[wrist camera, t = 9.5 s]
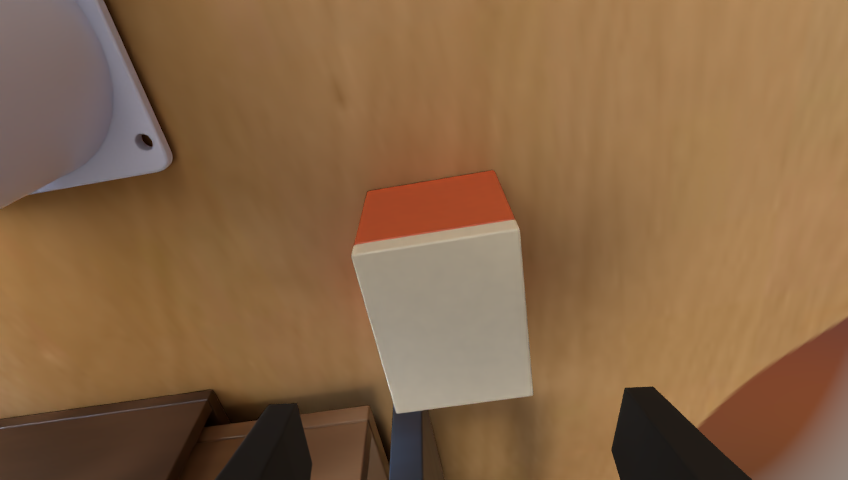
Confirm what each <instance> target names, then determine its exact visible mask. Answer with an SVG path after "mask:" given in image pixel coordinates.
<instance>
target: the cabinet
mask: <svg viewBox="0 0 848 480" xmlns="http://www.w3.org/2000/svg"><path fill="white" fill-rule="evenodd" d="M225 424H231V423H230V421H229V419H228V417H227V415H226V413H225V412H224V410H223V408H222V406H221V404H220V402H219V401H218V399H217V397H216V395H215V393H214V391H213V390H207V391H200V392H193V393H186V394H178V395H171V396H164V397H157V398H150V399H143V400H135V401H128V402H121V403H114V404H107V405H100V406H92V407H85V408H78V409H71V410H64V411H57V412H49V413H42V414H35V415H28V416H21V417H13V418H6V419H0V480H178V478H179V476H180V474H181V472H182V470H183V468H184V466H185V464H186V462H187V460H188V458H189V456H190V454H191V452H192V450H193V448H194V446H195V444H196V442H197V440H198V438H199V436H200V433H201V431H202V429H203V427H210V426H218V425H225Z"/></svg>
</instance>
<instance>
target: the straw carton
mask: <svg viewBox="0 0 848 480" xmlns="http://www.w3.org/2000/svg"><path fill="white" fill-rule="evenodd" d="M351 258H352V261H353V265H354V268H355V272H356V275H357V279H358V282H359V286H360V289H361V293H362V296H363V299H364V303H365V306H366V310H367V313H368V317H369V320H370V324H371V327H372V331H373V334H374V338H375V341H376V345H377V348H378V352H379V355H380V359H381V362H382V366H383V369H384V372H385V376H386V379H387V383H388V386H389V390H390V393H391V397H392V400H393V404H394V407H395V411H396V413H398V414H399V413H406V412H414V411H422V410H429V409H437V408H444V407H452V406H460V405H467V404H475V403H482V402H490V401H497V400H505V399H513V398H520V397H528V396H533V384H532V371H531V359H530V347H529V335H528V322H527V310H526V298H525V286H524V274H523V261H522V249H521V237H520V229H519V226H518V224H517V222H516V220H515V217H514V215H513V213H512V211H511V208H510V206H509V204H508V201H507V199H506V197H505V194H504V192H503V190H502V187H501V185H500V183H499V180H498V178H497V176H496V173H495V171H493V170H492V171H486V172H480V173H474V174H468V175H462V176H456V177H450V178H444V179H438V180H432V181H426V182H420V183H414V184H408V185H402V186H396V187H390V188H384V189H378V190H372V191H368V192H367V194H366V198H365V202H364V206H363V211H362V215H361V219H360V223H359V227H358V231H357V235H356V239H355V243H354V246H353V250H352V254H351Z"/></svg>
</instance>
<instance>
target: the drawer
mask: <svg viewBox="0 0 848 480" xmlns="http://www.w3.org/2000/svg"><path fill="white" fill-rule="evenodd" d="M300 417H301V421H302V425H303V429H304V433H305V437H306V440H307V444H308V448H309V452H310V456H311V460H312V471H311V478H310V480H444V475H443V471H442V467H441V463H440V459H439V455H438V450H437V446H436V442H435V438H434V434H433V429H432V425H431V421H430V417H429V413H428V410H422V411H414V412H406V413H399V414H398V413H396V411H395V407H394V404H393V417H392V434H391V452H390V467H389V464H388V461H387V458H386V454H385V451H384V448H383V445H382V442H381V439H380V436H379V433H378V430H377V427H376V424H375V420H374V417H373V414H372V411H371V408H370V406H368V405H367V406H360V407H352V408H345V409H337V410H330V411H322V412H315V413H307V414H300ZM256 422H257V420H255V421H248V422H240V423H233V424H225V425H218V426H210V427H203V429H202V431H201V433H200V436H199V438H198V440H197V442H196V444H195V446H194V448H193V450H192V452H191V454H190V456H189V458H188V460H187V462H186V464H185V466H184V468H183V470H182V472H181V474H180V476H179V478H178V480H214V479H215V478H216V477H217V476H218V474H219V473H220V472H221V470H222V469H223V468H224V466H225V465H226V464H227V462H228V461H229V459H230V458H231V457H232V455H233V454H234V453H235V451H236V450H237V448H238V447H239V446H240V444H241V443H242V441H243V440H244V439H245V437H246V436H247V434H248V433H249V432H250V430H251V429H252V427H253V426H254V424H255V423H256Z"/></svg>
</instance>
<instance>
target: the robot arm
mask: <svg viewBox="0 0 848 480" xmlns="http://www.w3.org/2000/svg"><path fill="white" fill-rule="evenodd" d="M142 134H145V135H147V136H149V137H150V139H151V140H152V143H153V146H152V147H150V146H148V145H146V144H145V143H144V142H143V140H142ZM172 159H173V156H172V152H171V150H170V147H169V145H168V143H167V141H166V138H165V136H164V134H163V132H162V129H161V127H160V125H159V123H158V121H157V118H156V116H155V114H154V112H153V109H152V107H151V105H150V103H149V100H148V98H147V96H146V94H145V92H144V89H143V87H142V85H141V83H140V80H139V78H138V76H137V74H136V71H135V69H134V67H133V65H132V62H131V60H130V58H129V56H128V54H127V51H126V49H125V47H124V45H123V42H122V40H121V38H120V36H119V33H118V31H117V29H116V27H115V24H114V22H113V20H112V18H111V16H110V13H109V11H108V9H107V7H106V4H105V2H104V0H0V209H2V208H3V207H5V206H7V205H9V204H11V203H13V202H15V201H17V200H19V199H21V198H23V197H24V196H26V195H30V194H36V193H42V192H47V191H53V190H59V189H64V188H70V187H76V186H82V185H87V184H93V183H99V182H104V181H110V180H116V179H122V178H127V177H133V176H139V175H144V174H150V173H156V172H160V171H162V170H165V169H166V168H167V167H169V165H170V164H171V163H172ZM612 454H613V457H614V460H615V464H616V467H617V470H618V473H619V477H620V480H752V479H751V478H750V477H749V476H747V475H746V474H745V473H744V472H743V471H742V470H741V469H740V468H738V466H736V465H735V464H734V463H733V462H732V461H731V460H730V459H729V458H728V457H726V456H725V455H724V454H723V453H722V452H721V451H720V450H719V449H718V448H717V447H716V446H715V445H714V444H713V443H711V442H710V441H709V440H708V439H707V438H706V437H705V436H704V435H703V434H702V433H701V432H700V431H699V430H698V429H697V428H696V427H695V426H694V425H693V424H692V423H690V422H689V421H688V420H687V419H686V418H685V417H684V416H683V415H682V414H681V413H680V412H679V411H678V410H677V409H676V408H675V407H674V406H673V405H672V404H671V403H670V402H669V401H668V400H667V399H665V398H664V397H663V396H662V395H661V394H660V393H659V392H658V391H657V390H656V389H655V388H654V387H634V388H625V390H624V394H623V399H622V403H621V408H620V413H619V417H618V422H617V427H616V431H615V436H614V441H613V445H612ZM311 471H312V460H311V456H310V452H309V448H308V444H307V440H306V437H305V433H304V429H303V425H302V421H301V417H300V413H299V409H298V405H297V403H291V404H270V405H269V406H268V407H267V408H266V409H265V410H264V411H263V413H262V414H261V416H260V417H259V419H258V420H257V422H256V423H255V424H254V426H253V427H252V429H251V430H250V432H249V433H248V434H247V436H246V437H245V439H244V440H243V441H242V443H241V444H240V446H239V447H238V448H237V450H236V451H235V453H234V454H233V455H232V457H231V458H230V459H229V461H228V462H227V464H226V465H225V466H224V468H223V469H222V470H221V472H220V473H219V474H218V476H217V477H216V478H215V479H214V480H310V478H311Z"/></svg>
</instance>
